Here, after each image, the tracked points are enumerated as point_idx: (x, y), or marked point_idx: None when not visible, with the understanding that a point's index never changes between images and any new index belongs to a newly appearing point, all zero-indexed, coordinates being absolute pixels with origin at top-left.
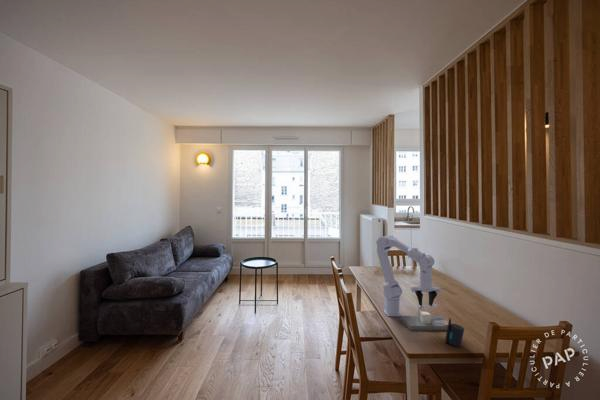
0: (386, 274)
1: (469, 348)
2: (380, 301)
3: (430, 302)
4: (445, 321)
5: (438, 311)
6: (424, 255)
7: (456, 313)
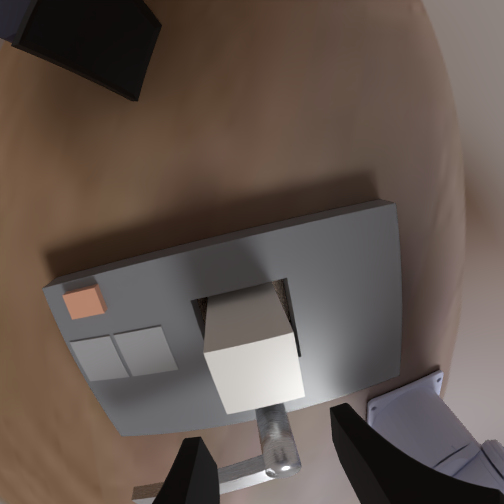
0: None
1: None
2: None
3: (202, 481)
4: (90, 360)
5: None
6: None
7: (64, 470)
